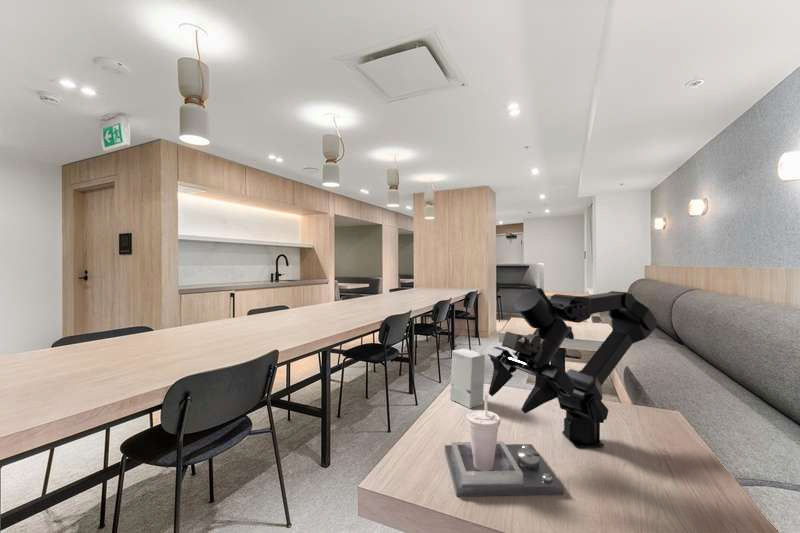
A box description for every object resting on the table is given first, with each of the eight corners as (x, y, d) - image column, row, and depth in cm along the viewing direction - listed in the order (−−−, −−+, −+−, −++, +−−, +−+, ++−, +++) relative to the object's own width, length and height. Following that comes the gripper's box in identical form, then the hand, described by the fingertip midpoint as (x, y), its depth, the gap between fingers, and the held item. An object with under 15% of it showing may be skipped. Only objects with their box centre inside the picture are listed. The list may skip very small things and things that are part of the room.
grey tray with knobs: (531, 450, 75) (531, 435, 75) (563, 494, 61) (563, 475, 61) (444, 452, 75) (444, 436, 75) (456, 496, 61) (456, 476, 61)
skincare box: (449, 400, 102) (449, 350, 102) (463, 395, 106) (463, 347, 106) (471, 409, 96) (471, 356, 95) (485, 404, 99) (485, 353, 99)
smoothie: (507, 472, 65) (507, 399, 65) (476, 478, 63) (476, 403, 63) (489, 454, 71) (489, 387, 71) (461, 459, 69) (461, 390, 69)
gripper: (494, 311, 79) (454, 366, 75) (564, 325, 63) (519, 396, 58) (519, 341, 83) (483, 395, 78) (592, 362, 66) (552, 432, 62)
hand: (505, 402), depth 69 cm, fingers open, 9 cm apart
